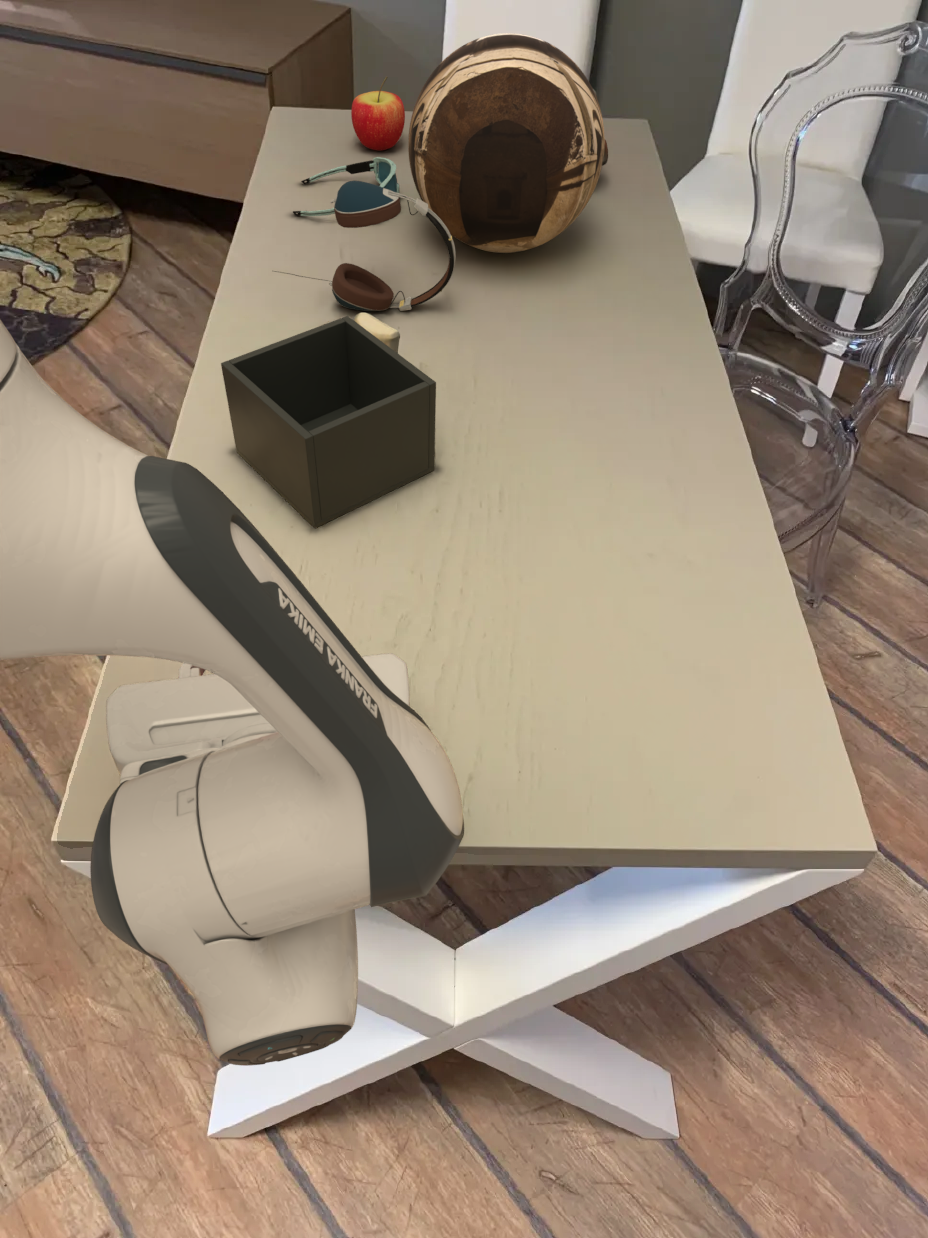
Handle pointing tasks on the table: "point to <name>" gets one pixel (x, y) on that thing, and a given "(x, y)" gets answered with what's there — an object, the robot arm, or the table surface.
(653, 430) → the table surface
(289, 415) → the open box
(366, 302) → the headphones
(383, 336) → the cream rounded block
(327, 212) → the sunglasses
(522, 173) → the sphere
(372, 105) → the apple
